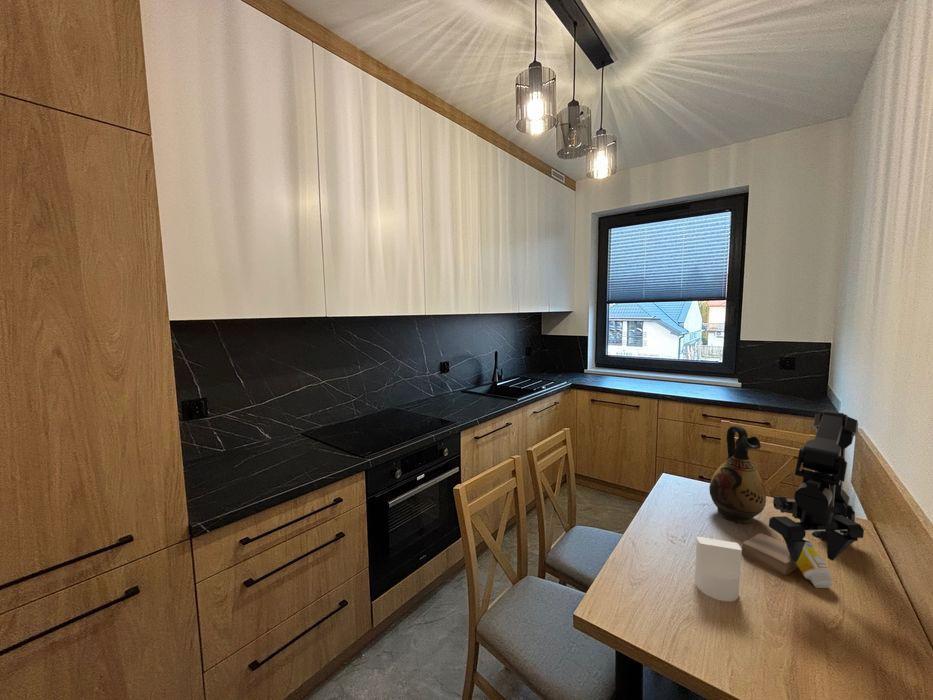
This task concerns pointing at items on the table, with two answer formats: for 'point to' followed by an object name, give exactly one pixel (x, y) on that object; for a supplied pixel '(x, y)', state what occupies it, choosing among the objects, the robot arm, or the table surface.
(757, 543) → the walnut block
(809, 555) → the supplement bottle
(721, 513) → the ceramic jug
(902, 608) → the table surface
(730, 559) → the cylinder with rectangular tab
